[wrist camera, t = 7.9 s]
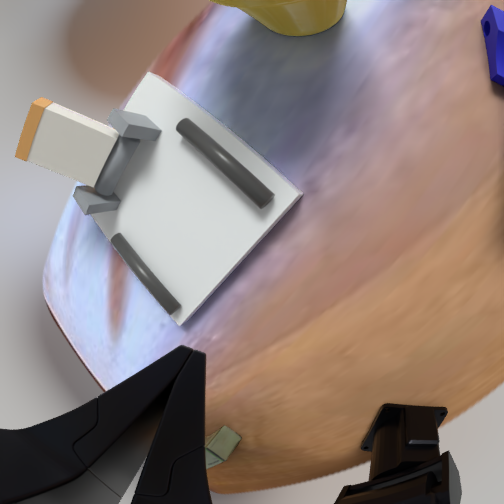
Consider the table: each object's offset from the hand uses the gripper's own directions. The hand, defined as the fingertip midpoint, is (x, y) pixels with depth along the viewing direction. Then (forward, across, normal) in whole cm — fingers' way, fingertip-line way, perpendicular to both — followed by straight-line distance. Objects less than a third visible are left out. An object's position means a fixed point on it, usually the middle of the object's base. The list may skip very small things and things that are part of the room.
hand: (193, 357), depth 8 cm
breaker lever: (+12, +12, -2) cm, 17 cm away
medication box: (+8, -1, +27) cm, 28 cm away
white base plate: (+14, +8, 0) cm, 16 cm away
